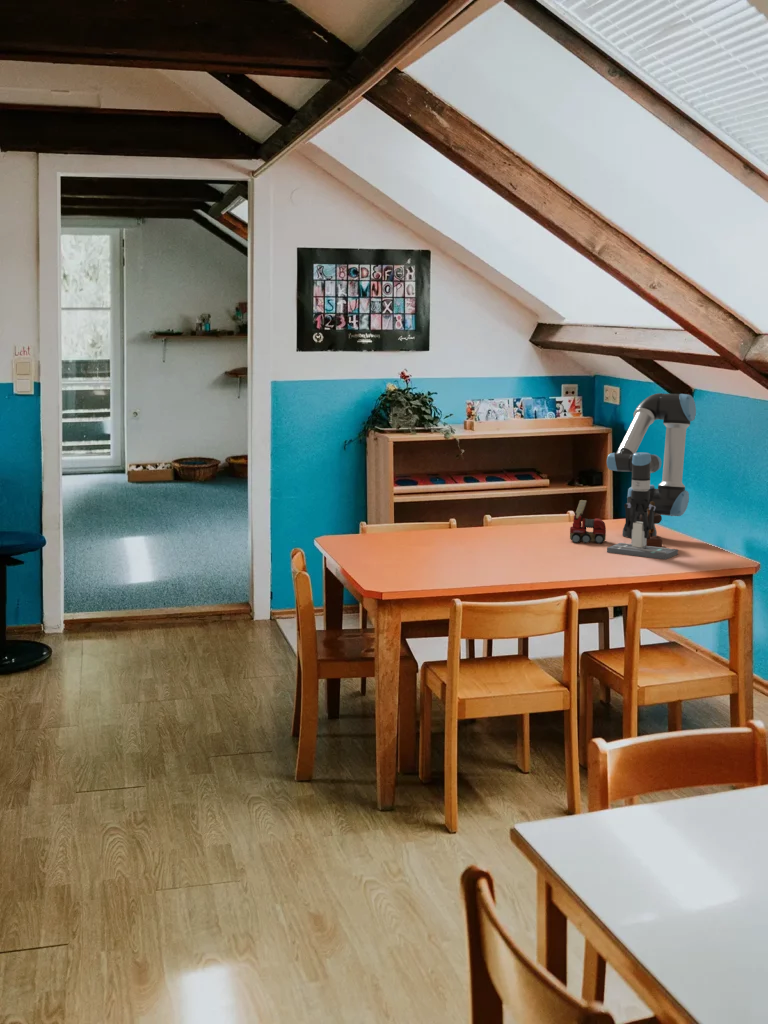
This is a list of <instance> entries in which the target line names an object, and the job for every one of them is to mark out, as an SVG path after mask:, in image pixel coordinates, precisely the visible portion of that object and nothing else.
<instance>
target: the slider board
mask: <svg viewBox="0 0 768 1024" xmlns="http://www.w3.org/2000/svg"><path fill="white" fill-rule="evenodd" d="M631 546H632V545H631V543H625V542H619V543H616V544H613V545H610V546H607V547H606V553H610V554H617V555H618V554H619V555H627V556H632V557H633V556H635V557H643V558H650V559H651V558H652V559H659V560H668V559H670V558H672V557H675V556H677V555H679V549H677V548H676V549H675V548H668V547H661V548H660V547H652V546H647V547H646V548H643V549H641V548H633V547H631Z"/></svg>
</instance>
